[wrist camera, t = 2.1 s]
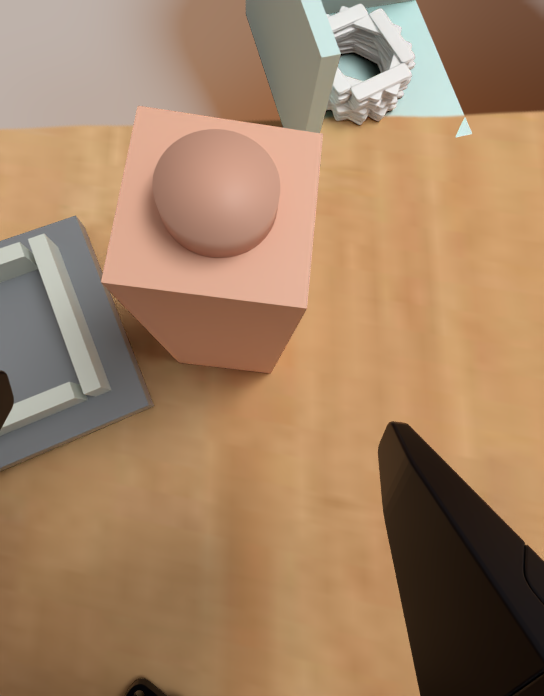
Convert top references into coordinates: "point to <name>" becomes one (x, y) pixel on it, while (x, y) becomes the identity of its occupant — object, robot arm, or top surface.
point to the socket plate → (61, 344)
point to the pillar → (215, 236)
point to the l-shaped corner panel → (350, 61)
